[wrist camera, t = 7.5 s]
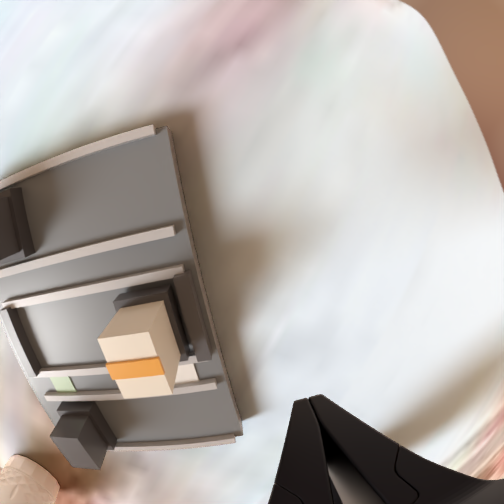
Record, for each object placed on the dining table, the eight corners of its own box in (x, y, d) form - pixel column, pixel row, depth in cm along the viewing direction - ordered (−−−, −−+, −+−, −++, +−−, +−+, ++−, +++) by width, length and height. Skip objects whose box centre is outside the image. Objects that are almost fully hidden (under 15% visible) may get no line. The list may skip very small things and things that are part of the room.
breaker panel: (170, 127, 16) (150, 107, 11) (242, 422, 21) (247, 474, 16) (-20, 197, 15) (-68, 205, 10) (72, 433, 20) (53, 473, 15)
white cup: (8, 440, 20) (-28, 500, 10) (70, 479, 22) (45, 547, 12) (6, 466, 21) (-22, 518, 11) (59, 499, 23) (39, 556, 13)
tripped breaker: (170, 283, 16) (151, 323, 11) (190, 349, 17) (181, 402, 12) (119, 293, 16) (86, 332, 11) (141, 356, 17) (121, 407, 12)
